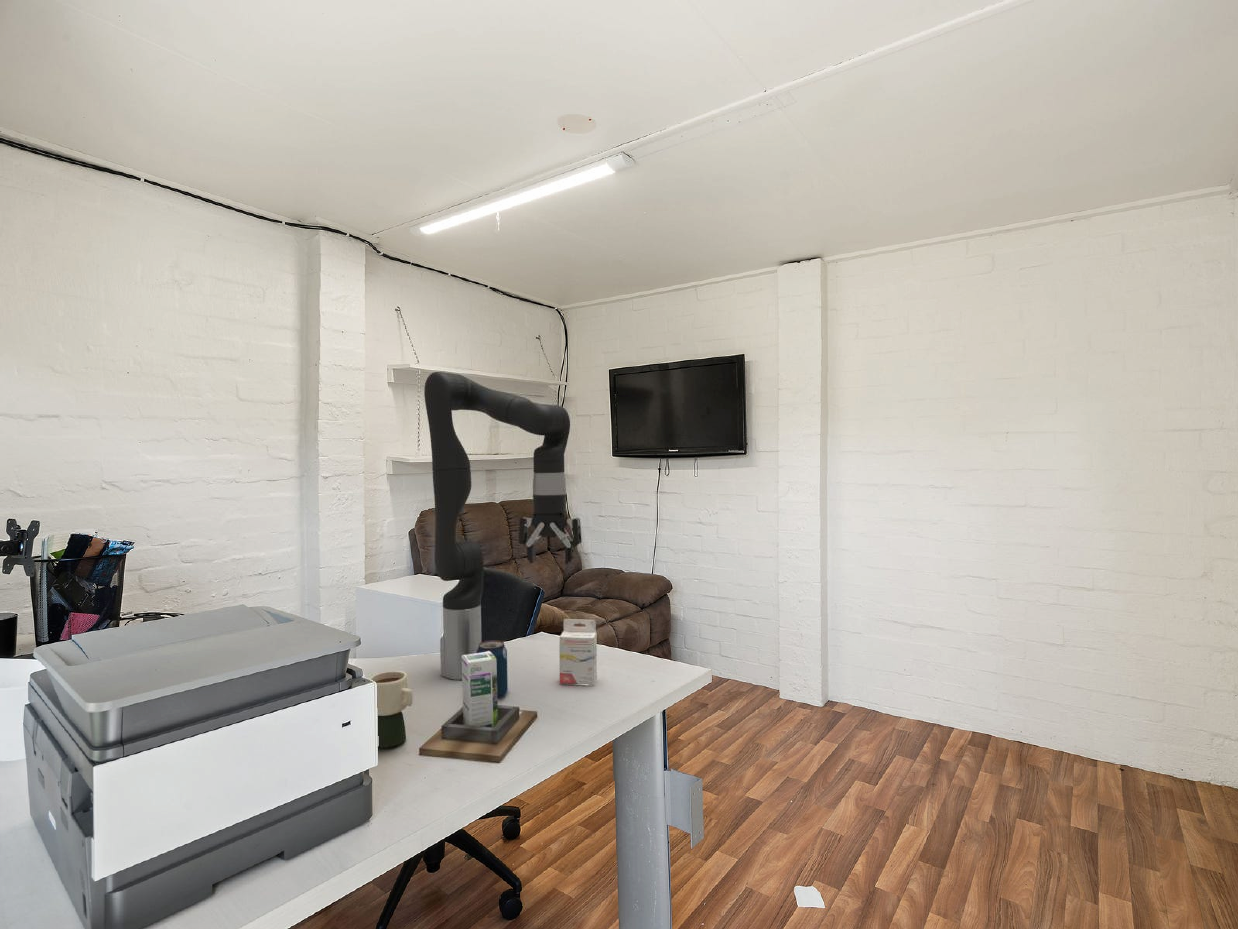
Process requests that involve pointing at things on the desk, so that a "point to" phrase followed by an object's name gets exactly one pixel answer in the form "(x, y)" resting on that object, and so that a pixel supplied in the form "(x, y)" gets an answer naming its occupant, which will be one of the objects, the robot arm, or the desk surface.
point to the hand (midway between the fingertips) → (550, 563)
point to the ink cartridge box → (578, 652)
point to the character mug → (391, 706)
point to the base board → (479, 736)
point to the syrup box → (480, 689)
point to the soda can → (501, 659)
